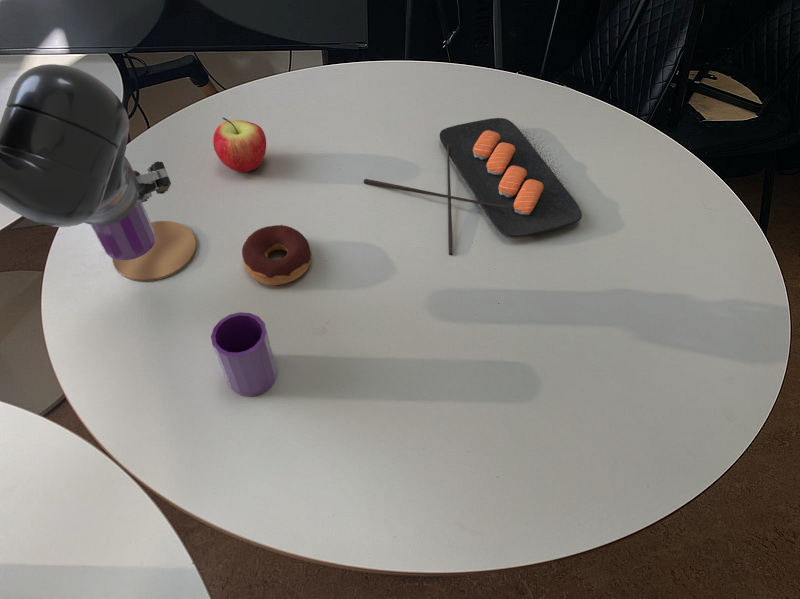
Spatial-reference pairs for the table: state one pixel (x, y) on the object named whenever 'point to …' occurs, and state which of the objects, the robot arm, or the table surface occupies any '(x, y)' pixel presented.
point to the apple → (240, 144)
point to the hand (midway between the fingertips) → (112, 202)
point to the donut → (283, 268)
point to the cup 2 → (244, 353)
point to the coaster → (161, 254)
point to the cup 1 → (127, 235)
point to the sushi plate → (504, 179)
